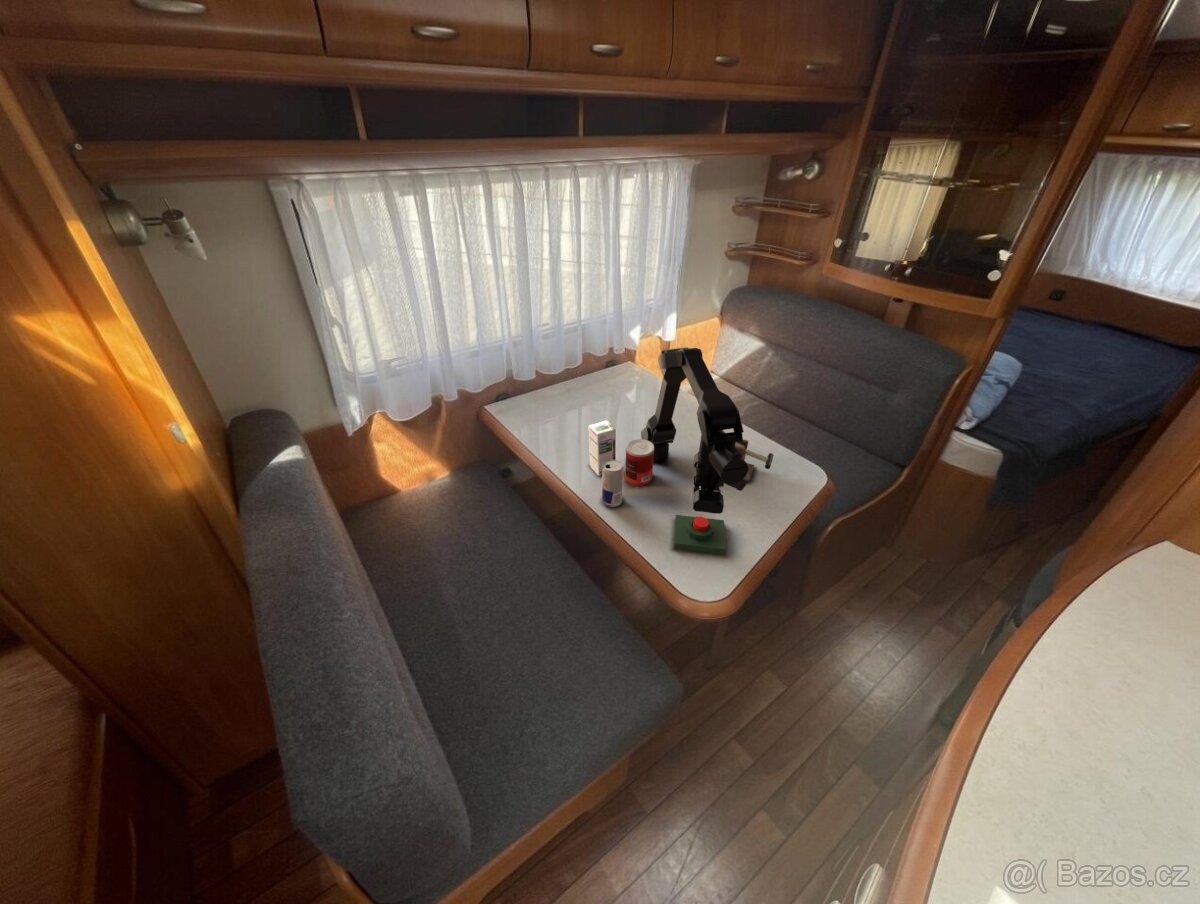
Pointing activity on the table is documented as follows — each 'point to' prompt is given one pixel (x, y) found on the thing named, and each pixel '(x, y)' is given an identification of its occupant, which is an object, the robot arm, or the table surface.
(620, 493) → the energy drink
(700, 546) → the button box
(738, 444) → the lever
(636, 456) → the canned food
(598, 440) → the syrup box
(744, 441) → the bracket
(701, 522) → the button
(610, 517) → the table surface
